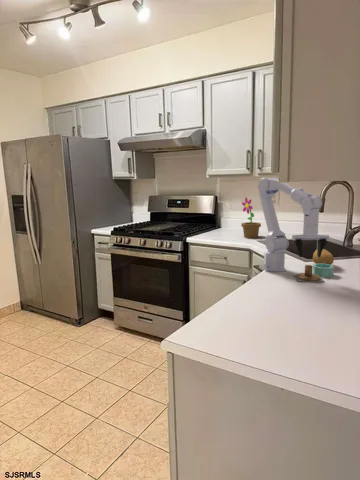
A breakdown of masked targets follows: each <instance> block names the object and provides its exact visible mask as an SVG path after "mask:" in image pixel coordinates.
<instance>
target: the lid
mask: <svg viewBox="0 0 360 480" xmlns="http://www.w3.org/2000/svg"><path fill="white" fill-rule="evenodd" d="M296 275H297V278H298V279H300V280H304V281H318V280H319V279H320V276H319V275H316V274H313V264H305V265H304V272H299V273H297V274H296Z"/></svg>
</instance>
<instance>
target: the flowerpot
mask: <svg viewBox="0 0 360 480" xmlns="http://www.w3.org/2000/svg"><path fill="white" fill-rule="evenodd" d="M244 197H245V196H244ZM251 203H252V199H249V200H248V198H247V197H245V199H244V201H242V202H241V205H242V206H243V208H242V211H243V213H244V212H246V213H247V215H249V214H250V217H247V220H249V221H248V222H247V221H246V222H242V223H241V227H242V231H243V237H244V238H246V239H257V238H258V237H259V232H260V227H261V226H262V223H261V222H253V218H254V217H255V213H254V212H252V210H253V206H252V205H251Z"/></svg>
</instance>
